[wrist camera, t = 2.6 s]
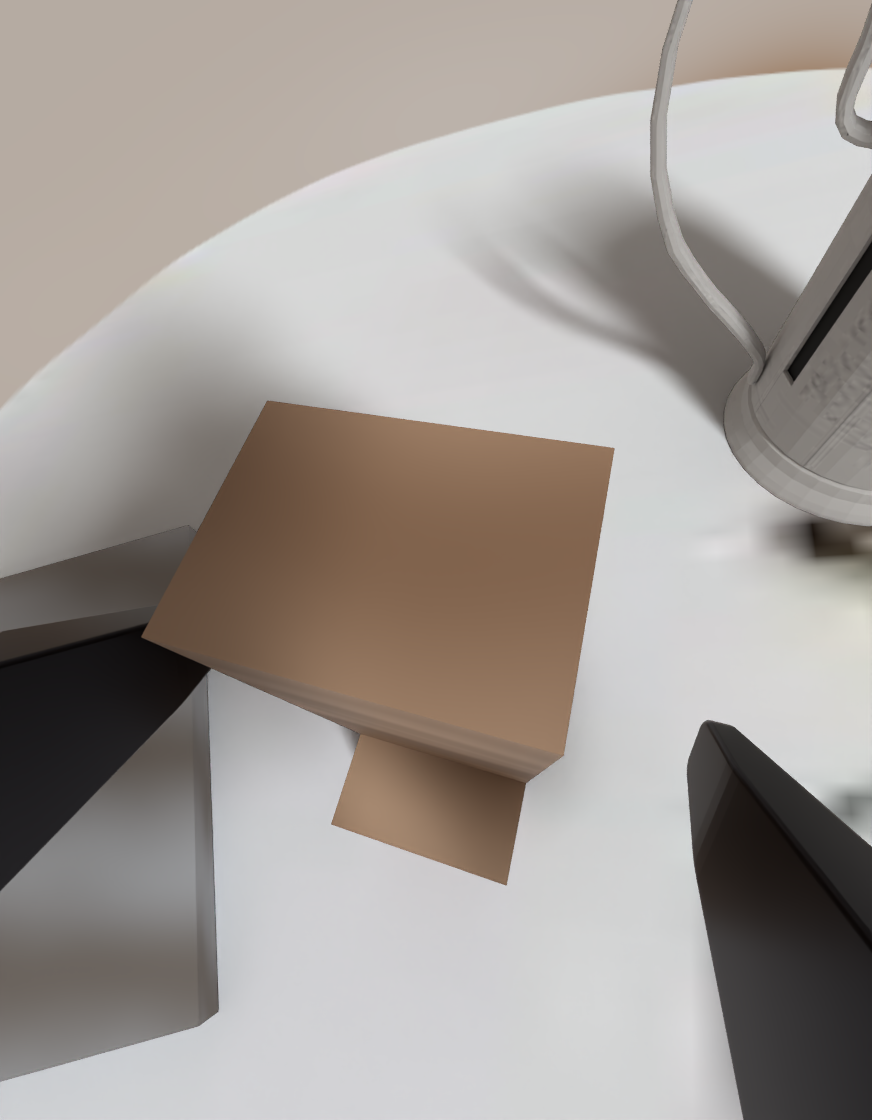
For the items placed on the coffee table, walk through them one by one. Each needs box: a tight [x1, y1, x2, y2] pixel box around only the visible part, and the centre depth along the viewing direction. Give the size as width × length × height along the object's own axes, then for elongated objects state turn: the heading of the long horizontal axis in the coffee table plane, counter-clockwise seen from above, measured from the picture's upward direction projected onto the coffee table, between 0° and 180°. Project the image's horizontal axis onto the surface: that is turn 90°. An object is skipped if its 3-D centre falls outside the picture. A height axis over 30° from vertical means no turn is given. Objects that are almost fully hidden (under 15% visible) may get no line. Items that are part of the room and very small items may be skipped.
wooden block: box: [141, 401, 614, 885], centre depth 11 cm, size 7×4×13 cm, turn 164°
